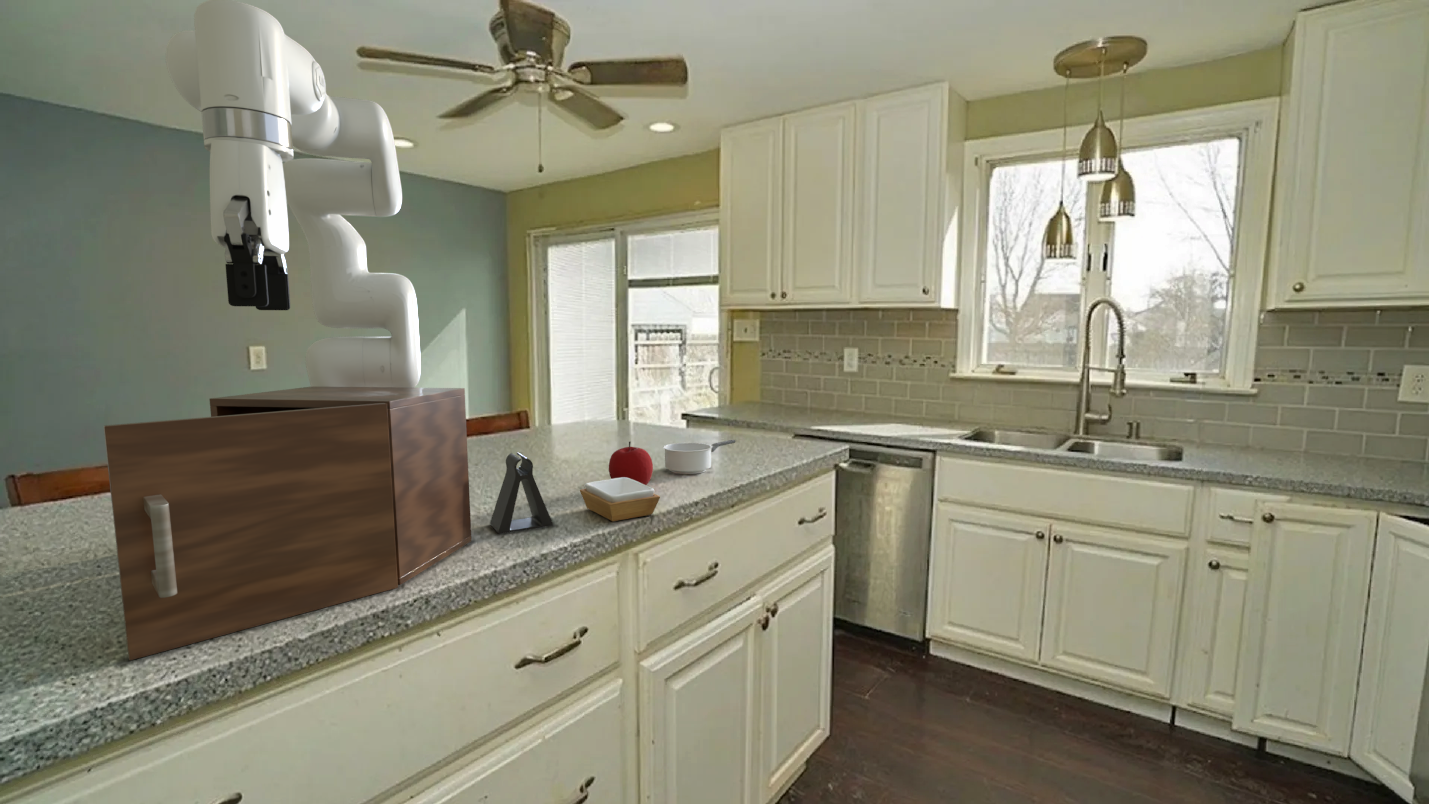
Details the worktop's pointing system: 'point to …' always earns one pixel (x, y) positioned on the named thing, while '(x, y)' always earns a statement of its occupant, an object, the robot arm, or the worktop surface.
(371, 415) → the cupboard door
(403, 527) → the cupboard
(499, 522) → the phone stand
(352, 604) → the worktop surface
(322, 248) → the robot arm
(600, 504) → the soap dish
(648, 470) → the apple
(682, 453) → the saucepan
